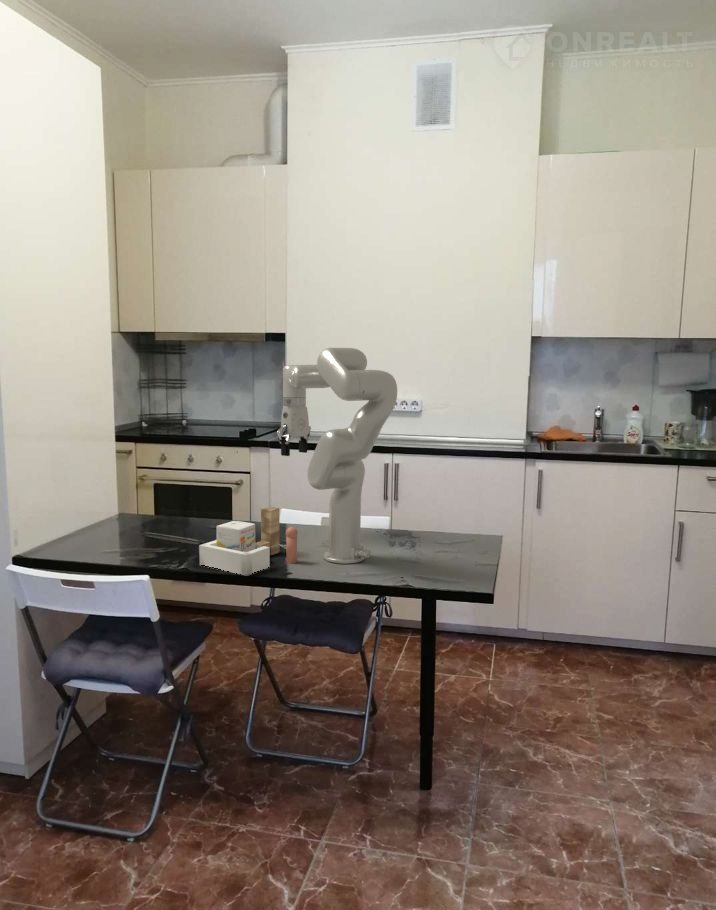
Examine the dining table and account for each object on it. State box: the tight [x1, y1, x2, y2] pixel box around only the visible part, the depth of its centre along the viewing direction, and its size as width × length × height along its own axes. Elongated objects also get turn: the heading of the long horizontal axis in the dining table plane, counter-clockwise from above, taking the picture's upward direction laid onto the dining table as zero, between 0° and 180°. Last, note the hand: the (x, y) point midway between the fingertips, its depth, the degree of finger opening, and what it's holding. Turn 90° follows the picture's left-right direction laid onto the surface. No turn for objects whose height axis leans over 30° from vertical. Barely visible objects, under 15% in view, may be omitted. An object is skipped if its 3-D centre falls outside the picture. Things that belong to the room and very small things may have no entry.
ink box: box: [216, 520, 256, 552], centre depth 214 cm, size 9×8×12 cm
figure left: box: [285, 526, 299, 564], centre depth 215 cm, size 4×4×11 cm
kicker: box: [255, 506, 280, 556], centre depth 221 cm, size 10×11×14 cm
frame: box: [198, 539, 271, 577], centre depth 210 cm, size 18×10×6 cm, turn 58°
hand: (294, 453), depth 241 cm, fingers open, 9 cm apart
